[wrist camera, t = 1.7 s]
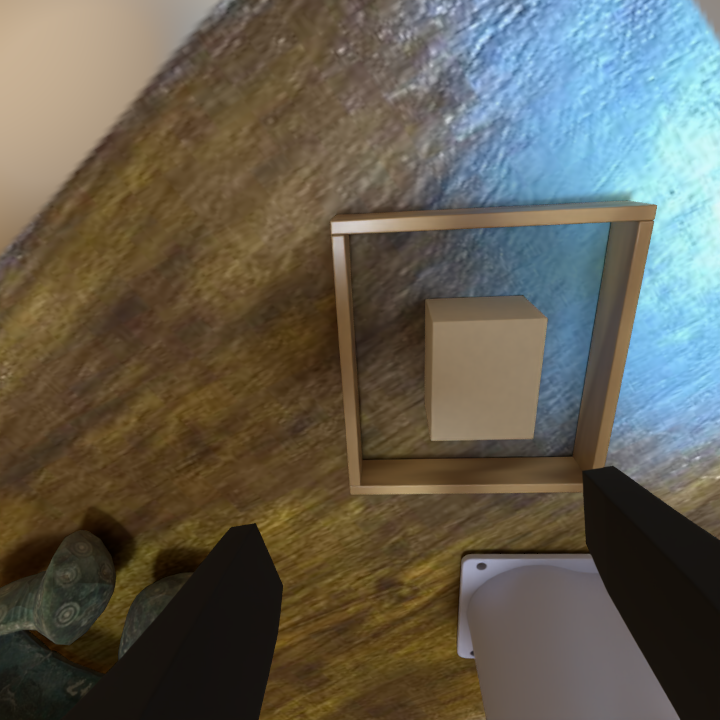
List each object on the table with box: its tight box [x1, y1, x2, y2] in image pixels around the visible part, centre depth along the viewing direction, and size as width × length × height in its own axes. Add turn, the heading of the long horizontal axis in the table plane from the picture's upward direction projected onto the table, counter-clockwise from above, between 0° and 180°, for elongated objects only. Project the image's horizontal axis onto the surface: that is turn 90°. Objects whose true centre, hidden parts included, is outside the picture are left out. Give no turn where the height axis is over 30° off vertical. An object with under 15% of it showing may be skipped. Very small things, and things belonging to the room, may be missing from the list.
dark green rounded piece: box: [0, 530, 194, 720], centre depth 23 cm, size 15×15×10 cm
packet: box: [425, 295, 548, 441], centre depth 18 cm, size 4×5×3 cm
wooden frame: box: [330, 200, 657, 495], centre depth 19 cm, size 11×12×2 cm
